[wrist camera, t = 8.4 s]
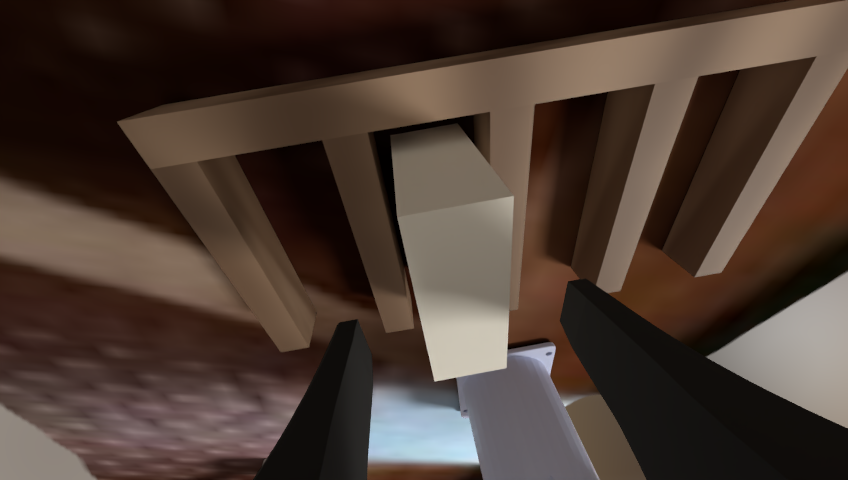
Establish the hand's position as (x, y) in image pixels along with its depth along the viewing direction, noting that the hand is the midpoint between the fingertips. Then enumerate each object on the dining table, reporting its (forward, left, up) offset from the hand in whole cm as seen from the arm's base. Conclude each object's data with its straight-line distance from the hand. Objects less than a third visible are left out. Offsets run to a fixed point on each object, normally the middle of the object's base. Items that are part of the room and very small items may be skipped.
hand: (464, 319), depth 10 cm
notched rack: (0, -3, -7) cm, 7 cm away
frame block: (+1, 0, -7) cm, 7 cm away
